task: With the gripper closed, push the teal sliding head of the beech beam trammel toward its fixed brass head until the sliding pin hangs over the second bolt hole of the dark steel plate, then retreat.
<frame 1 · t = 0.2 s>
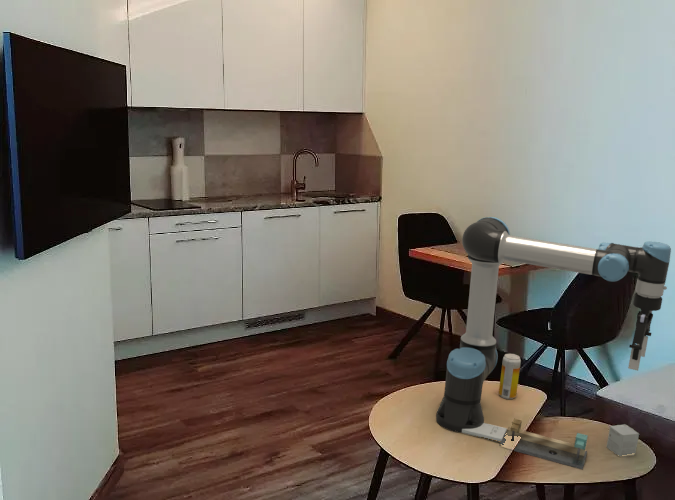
hand: (636, 362, 207), 28 cm above the table, fingers open, 13 cm apart
product box: (620, 451, 210), on the table
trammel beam: (545, 438, 207), on the bolt plate, point 4 cm above the table
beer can: (507, 396, 244), on the table
external hard drive: (484, 433, 216), on the table, touching arm, bolt plate
sliding head: (580, 446, 203), point 4 cm above the table, slide at 0.0 cm
bolt plate: (542, 450, 207), on the table
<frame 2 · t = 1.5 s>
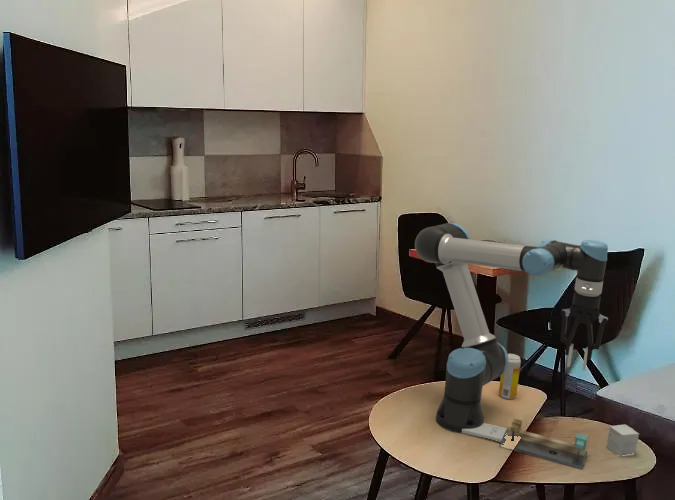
hand: (576, 367, 208), 25 cm above the table, fingers open, 4 cm apart
nothing on the table moved.
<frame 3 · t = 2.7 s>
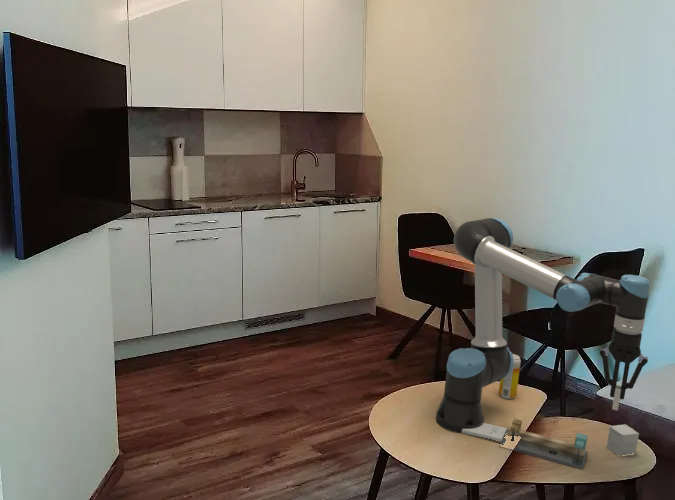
hand: (615, 408, 198), 18 cm above the table, fingers closed
nothing on the table moved.
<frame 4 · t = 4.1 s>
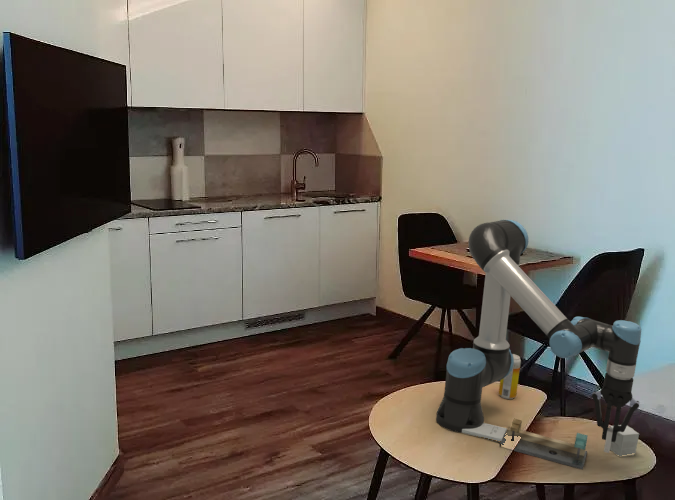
hand: (606, 450, 201), 4 cm above the table, fingers closed
nothing on the table moved.
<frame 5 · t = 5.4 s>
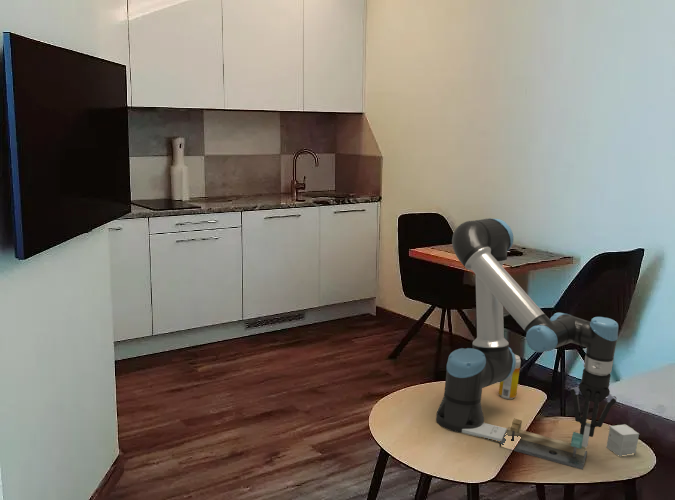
hand: (584, 444, 204), 4 cm above the table, fingers closed
sliding head: (576, 445, 204), point 4 cm above the table, slide at 1.1 cm, touching gripper
everything else where it was.
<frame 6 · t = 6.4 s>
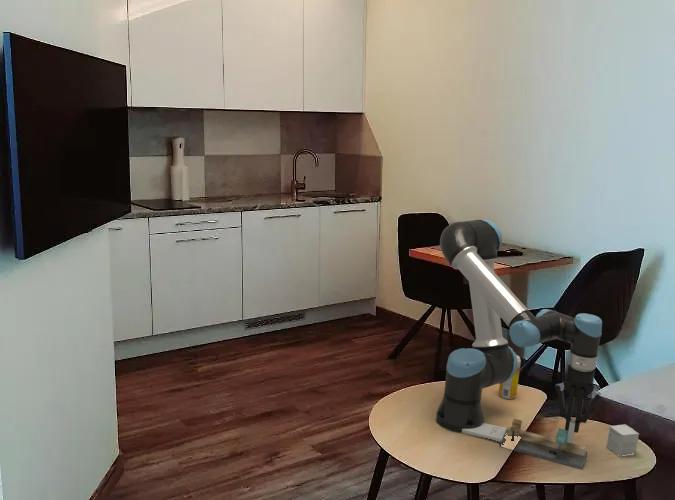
hand: (570, 440, 206), 4 cm above the table, fingers closed
sliding head: (561, 441, 205), point 4 cm above the table, slide at 5.3 cm, touching gripper
everything else where it was.
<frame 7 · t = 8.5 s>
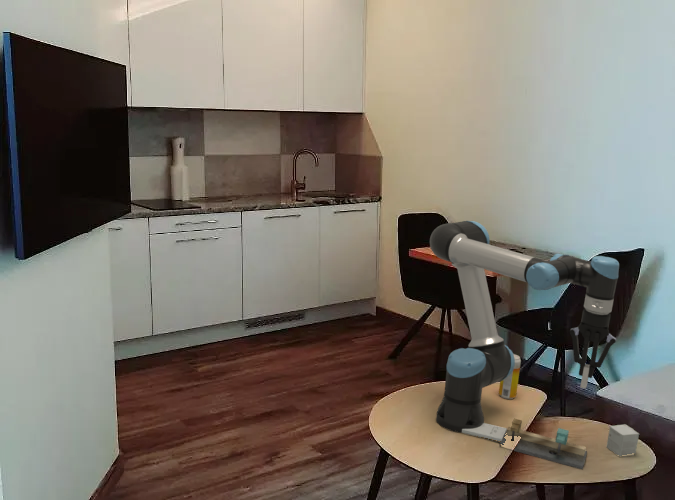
hand: (583, 386, 203), 21 cm above the table, fingers closed
sliding head: (561, 441, 205), point 4 cm above the table, slide at 5.4 cm
everything else where it was.
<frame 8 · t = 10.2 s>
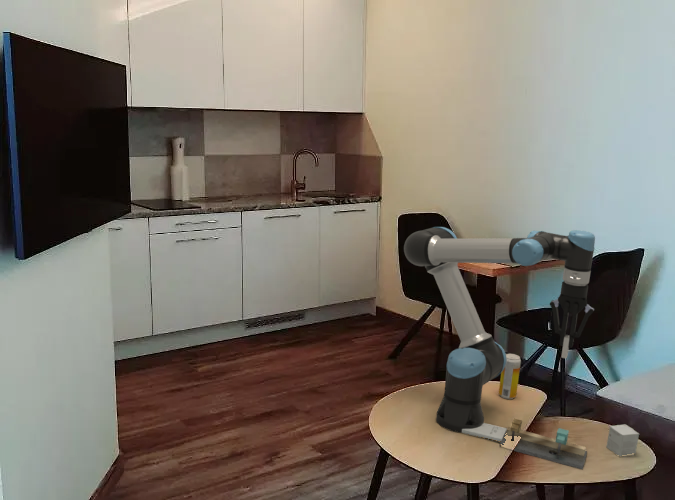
hand: (564, 356, 211), 26 cm above the table, fingers closed
nothing on the table moved.
at the end: sliding head slide at 5.4 cm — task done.
